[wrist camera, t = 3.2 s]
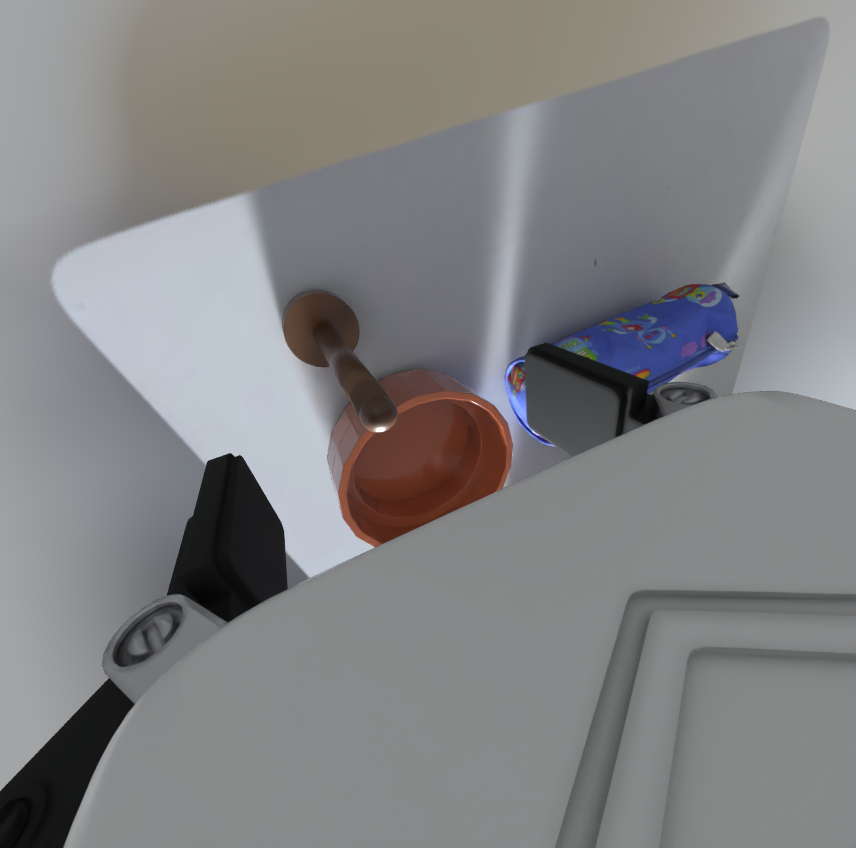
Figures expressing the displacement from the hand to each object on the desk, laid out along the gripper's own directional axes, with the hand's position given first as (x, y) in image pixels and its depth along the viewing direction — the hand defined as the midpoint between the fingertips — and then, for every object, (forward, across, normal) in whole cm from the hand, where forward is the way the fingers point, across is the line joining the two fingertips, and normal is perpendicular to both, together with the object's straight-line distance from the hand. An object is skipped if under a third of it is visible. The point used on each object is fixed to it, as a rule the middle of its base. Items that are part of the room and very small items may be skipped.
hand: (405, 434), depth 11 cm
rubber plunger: (+18, +1, 0) cm, 18 cm away
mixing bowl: (+18, -4, +13) cm, 22 cm away
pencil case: (+18, -25, +10) cm, 32 cm away
